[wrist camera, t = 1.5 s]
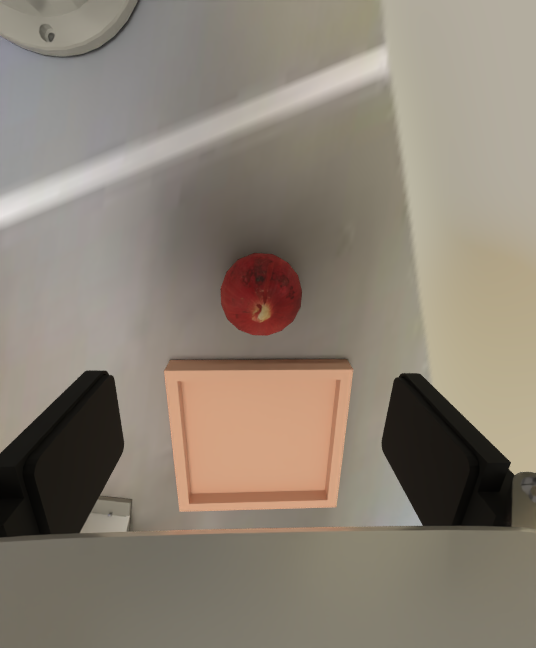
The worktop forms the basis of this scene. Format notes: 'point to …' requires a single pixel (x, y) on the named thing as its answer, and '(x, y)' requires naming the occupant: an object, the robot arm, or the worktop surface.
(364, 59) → the worktop surface
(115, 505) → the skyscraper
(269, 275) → the red round fruit
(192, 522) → the worktop surface
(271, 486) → the dish
